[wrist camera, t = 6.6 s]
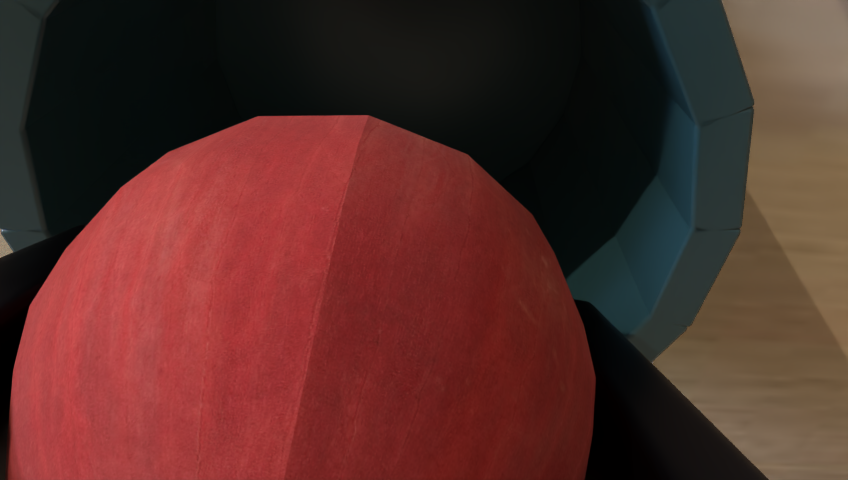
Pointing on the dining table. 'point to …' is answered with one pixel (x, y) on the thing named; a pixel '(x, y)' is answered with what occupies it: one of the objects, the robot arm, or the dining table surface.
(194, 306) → the onion
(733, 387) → the dining table surface
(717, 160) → the tin
